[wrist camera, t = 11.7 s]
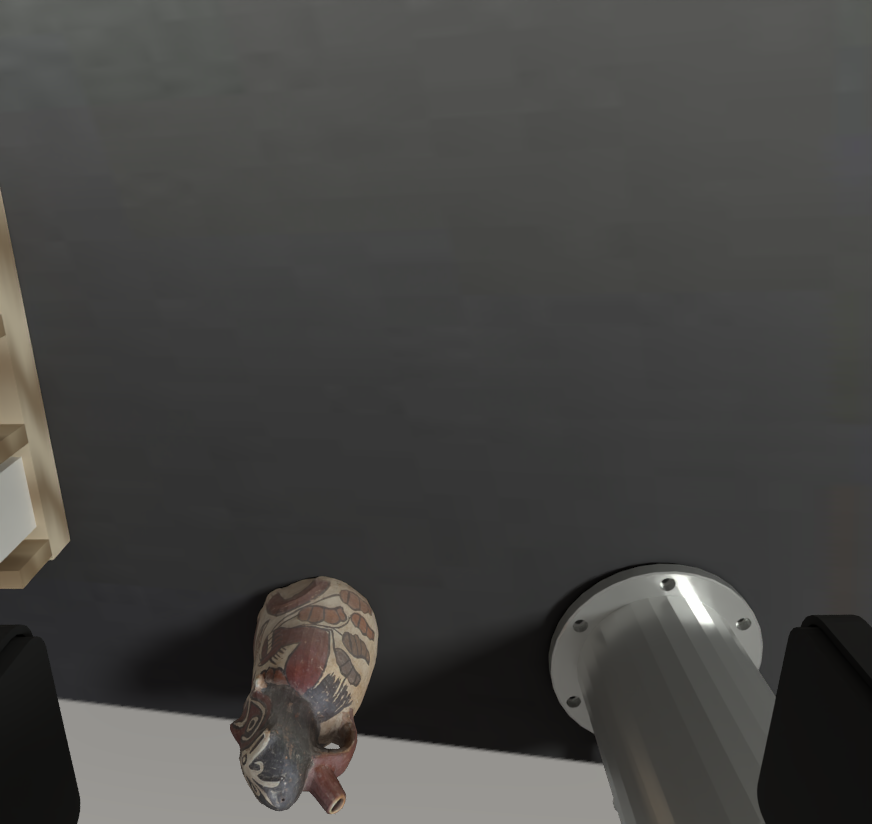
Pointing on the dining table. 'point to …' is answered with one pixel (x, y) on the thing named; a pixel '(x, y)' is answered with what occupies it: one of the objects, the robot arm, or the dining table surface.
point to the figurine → (306, 692)
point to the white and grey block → (14, 506)
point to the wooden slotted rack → (25, 429)
